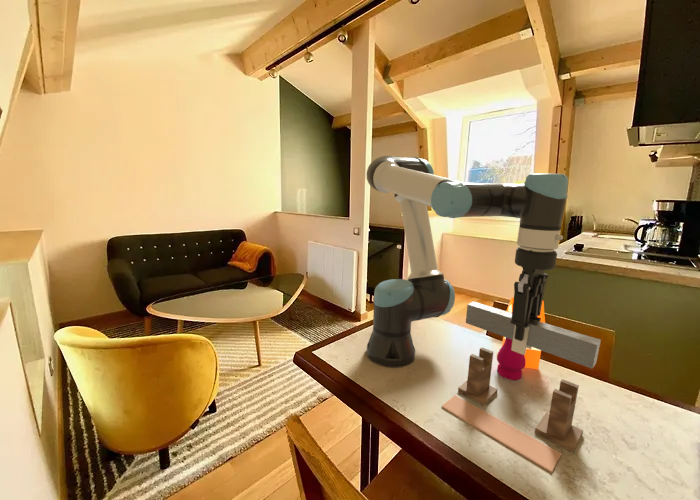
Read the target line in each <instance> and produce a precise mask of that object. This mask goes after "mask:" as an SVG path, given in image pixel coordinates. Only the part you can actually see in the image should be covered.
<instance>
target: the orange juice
mask: <svg viewBox="0 0 700 500" xmlns="http://www.w3.org/2000/svg"><path fill="white" fill-rule="evenodd" d="M513 301H514V297H511V298H510V301H509V304H508V306H507V309H506V310H505V311H507V312H510V313H511V312H512V310H513ZM540 313H541V314H540V315H539V316H537V317H539V318H541V320H540V322H543V323H546V317H545V304H544V300H543V301H542V307H541V312H540ZM505 339H506V337H503V336H502V344H501V347H502V346H503V344H504V342H505ZM541 355H542V350H539V349H536V348H533V347H532V348H531V349H529V348H526V353H525V355H524V356H525V360H526V365H525V367H524V368H526V369H528V368H529V369H534V370H539V367H540V361H541Z"/></svg>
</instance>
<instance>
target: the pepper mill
mask: <svg viewBox="0 0 700 500" xmlns="http://www.w3.org/2000/svg"><path fill="white" fill-rule="evenodd" d="M511 313H512V312H511ZM512 341H513V340H511V339H509V338H506V339H505V342H504V344H503V346H502V345H501V347H500V349H499V351H498V352H497V355H496V360H497V362H498V364H497V368H496V371H497V374H498V375H500V376H501V377H502V378H504V379H506V380H509V381H520V380H521V379H522V378H523V370H524V369H525V368H526V367H525V365H526V360H525V356H524V355H522V354H520V353H517V352H515V351H512V350H511V348H512Z"/></svg>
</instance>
